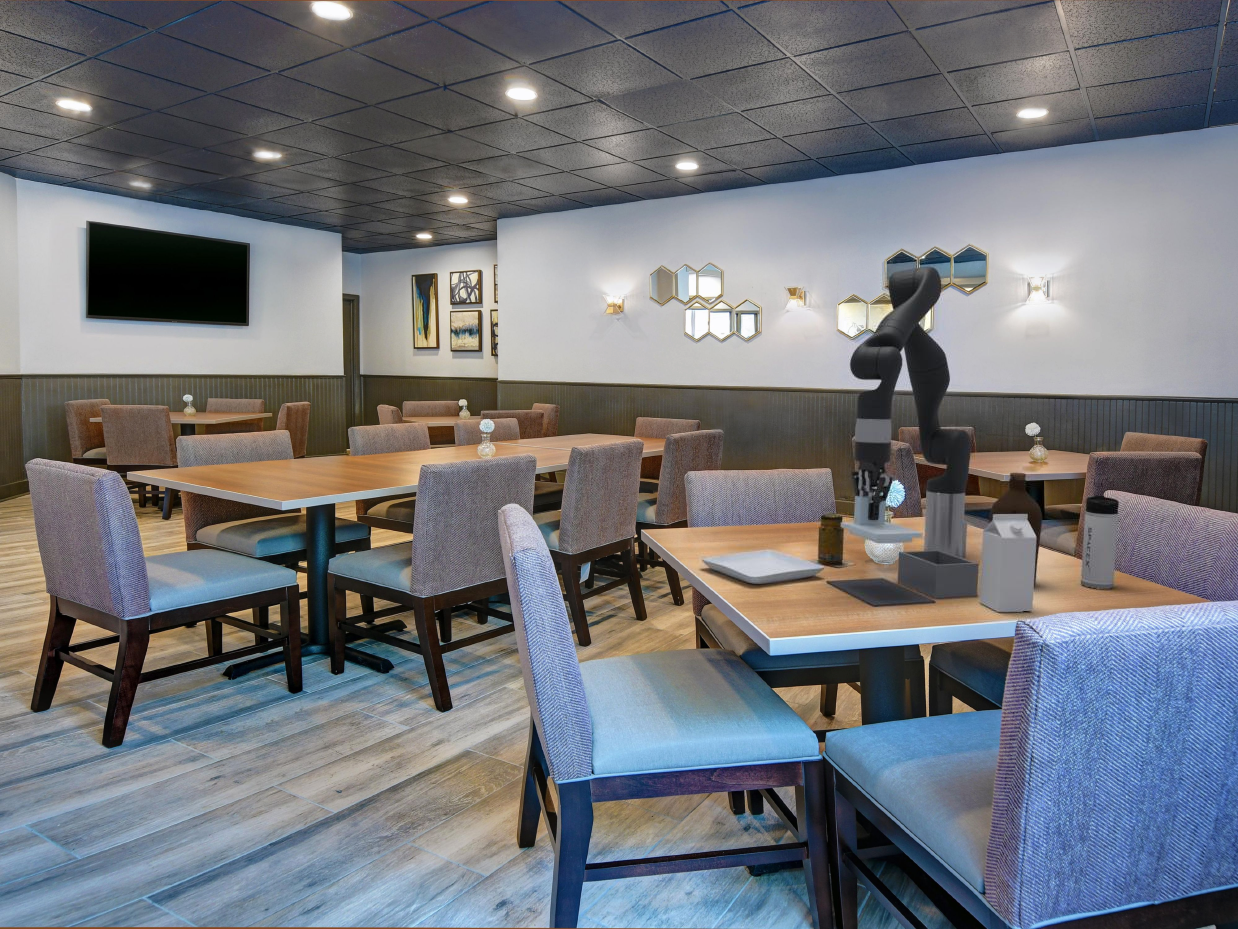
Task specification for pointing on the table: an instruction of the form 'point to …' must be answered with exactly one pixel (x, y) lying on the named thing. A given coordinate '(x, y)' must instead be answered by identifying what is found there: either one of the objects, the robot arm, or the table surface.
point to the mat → (880, 592)
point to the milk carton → (1008, 564)
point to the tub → (938, 574)
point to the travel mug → (1099, 542)
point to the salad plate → (763, 566)
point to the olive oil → (1020, 507)
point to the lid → (877, 525)
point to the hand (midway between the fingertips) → (869, 518)
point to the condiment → (831, 541)
